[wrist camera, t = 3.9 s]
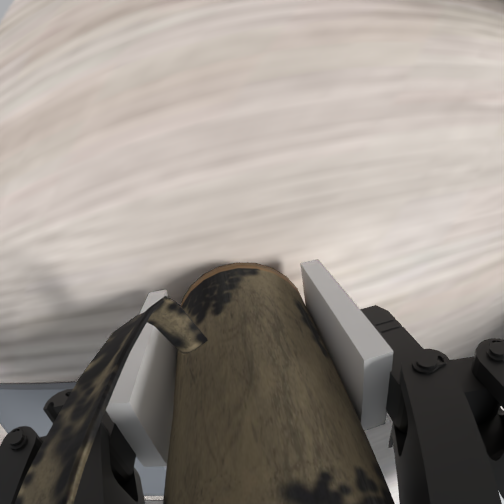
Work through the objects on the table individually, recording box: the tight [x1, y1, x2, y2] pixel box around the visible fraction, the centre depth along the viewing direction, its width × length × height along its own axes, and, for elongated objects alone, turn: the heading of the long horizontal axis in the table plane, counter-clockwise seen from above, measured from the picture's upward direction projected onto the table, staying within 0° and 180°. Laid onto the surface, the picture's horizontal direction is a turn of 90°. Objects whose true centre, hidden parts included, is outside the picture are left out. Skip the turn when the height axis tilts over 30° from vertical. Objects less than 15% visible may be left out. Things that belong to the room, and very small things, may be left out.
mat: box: [0, 382, 167, 496], centre depth 16 cm, size 12×12×1 cm
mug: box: [15, 263, 395, 504], centre depth 8 cm, size 8×6×12 cm
